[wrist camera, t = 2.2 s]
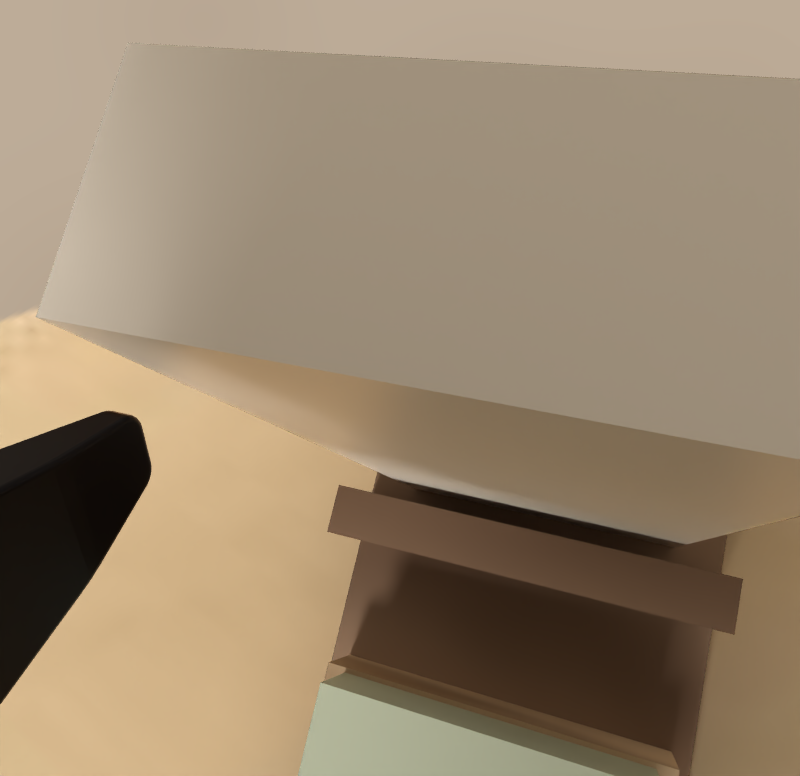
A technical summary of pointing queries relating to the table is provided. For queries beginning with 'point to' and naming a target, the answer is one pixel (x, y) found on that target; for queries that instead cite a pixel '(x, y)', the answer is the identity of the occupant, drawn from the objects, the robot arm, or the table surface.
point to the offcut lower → (508, 713)
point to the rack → (535, 610)
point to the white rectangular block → (464, 272)
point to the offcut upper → (434, 739)
